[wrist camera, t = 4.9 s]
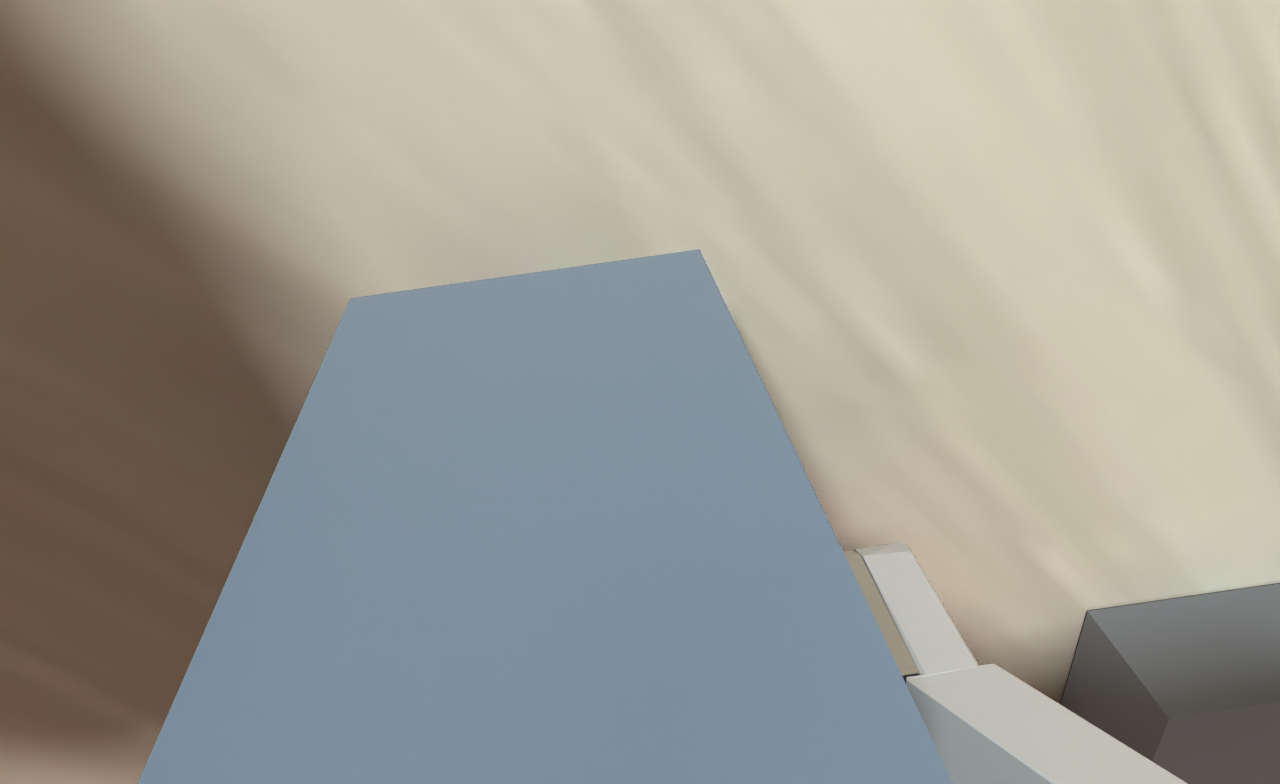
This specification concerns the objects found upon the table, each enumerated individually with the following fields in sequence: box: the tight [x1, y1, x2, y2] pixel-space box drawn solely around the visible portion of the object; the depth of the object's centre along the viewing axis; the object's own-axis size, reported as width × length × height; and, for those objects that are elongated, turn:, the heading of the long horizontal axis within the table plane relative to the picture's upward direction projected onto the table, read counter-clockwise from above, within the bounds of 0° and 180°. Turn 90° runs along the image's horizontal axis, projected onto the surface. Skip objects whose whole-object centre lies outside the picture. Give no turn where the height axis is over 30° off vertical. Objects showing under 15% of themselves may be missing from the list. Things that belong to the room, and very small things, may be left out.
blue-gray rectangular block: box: [137, 249, 953, 784], centre depth 8 cm, size 4×6×7 cm, turn 6°
